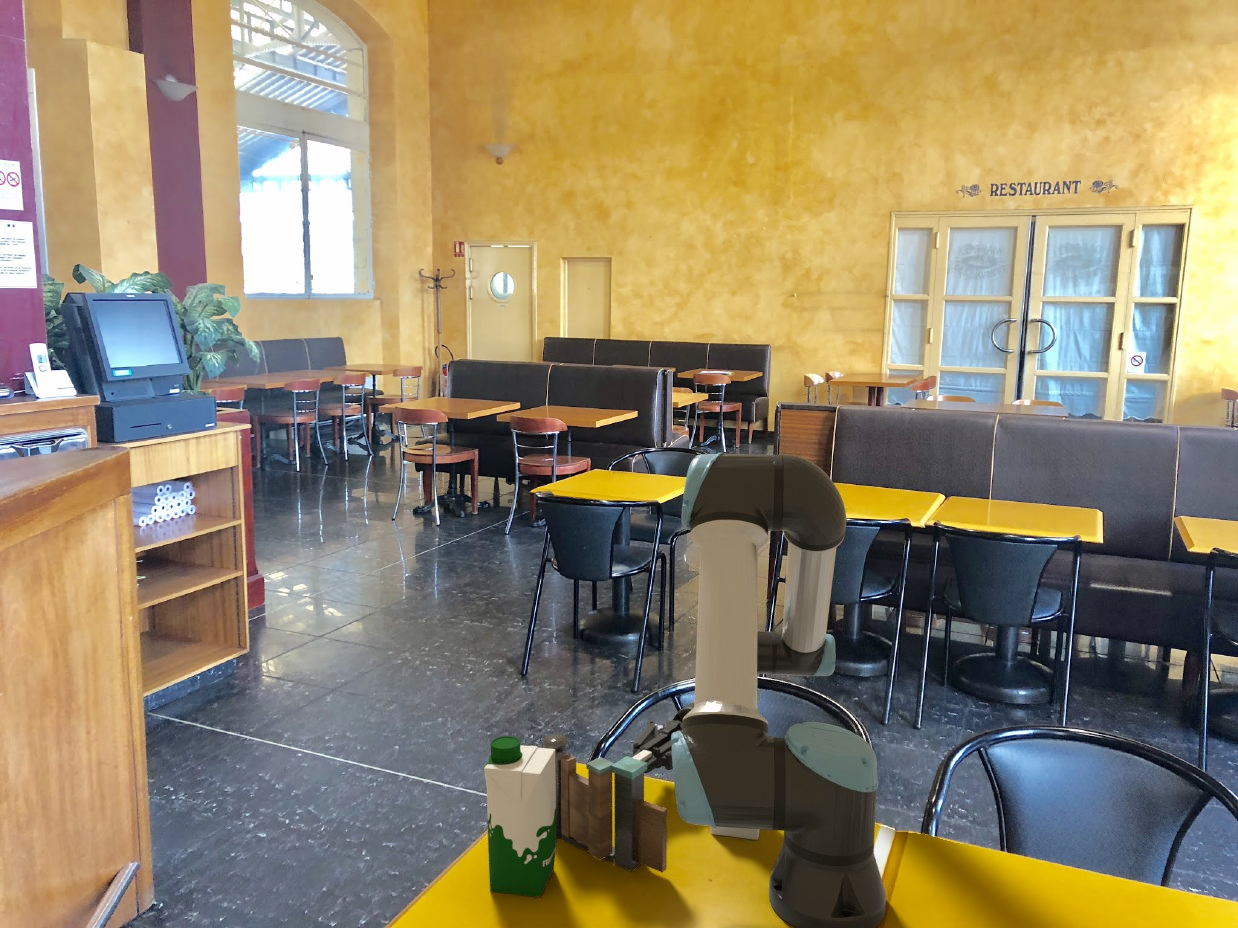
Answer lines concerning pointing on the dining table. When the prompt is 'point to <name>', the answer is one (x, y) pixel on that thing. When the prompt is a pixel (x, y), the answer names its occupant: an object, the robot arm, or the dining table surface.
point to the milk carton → (520, 816)
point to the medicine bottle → (736, 832)
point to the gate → (587, 804)
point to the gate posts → (623, 814)
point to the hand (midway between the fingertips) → (624, 774)
